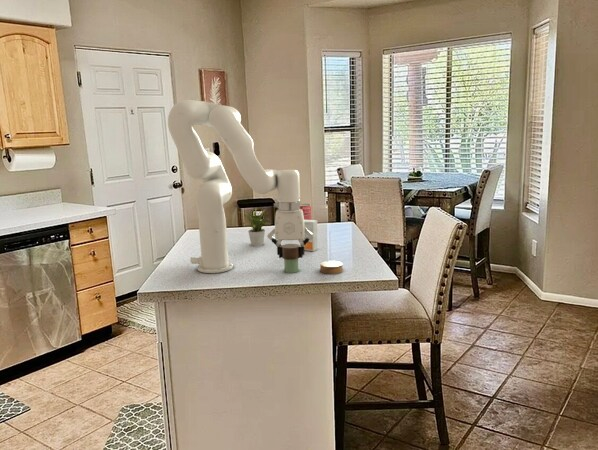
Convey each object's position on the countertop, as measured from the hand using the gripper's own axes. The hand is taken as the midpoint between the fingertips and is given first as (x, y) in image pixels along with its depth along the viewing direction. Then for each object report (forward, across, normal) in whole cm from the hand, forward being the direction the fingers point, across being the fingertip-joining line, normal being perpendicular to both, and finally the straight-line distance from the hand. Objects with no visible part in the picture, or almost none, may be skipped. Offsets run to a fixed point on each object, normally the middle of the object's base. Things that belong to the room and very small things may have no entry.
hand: (291, 256), depth 178 cm
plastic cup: (+5, 0, 0) cm, 5 cm away
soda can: (+5, -1, +64) cm, 64 cm away
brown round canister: (0, 0, 0) cm, 0 cm away
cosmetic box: (+5, +4, +30) cm, 31 cm away
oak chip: (+5, +14, 0) cm, 15 cm away
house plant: (+5, -20, +38) cm, 43 cm away
